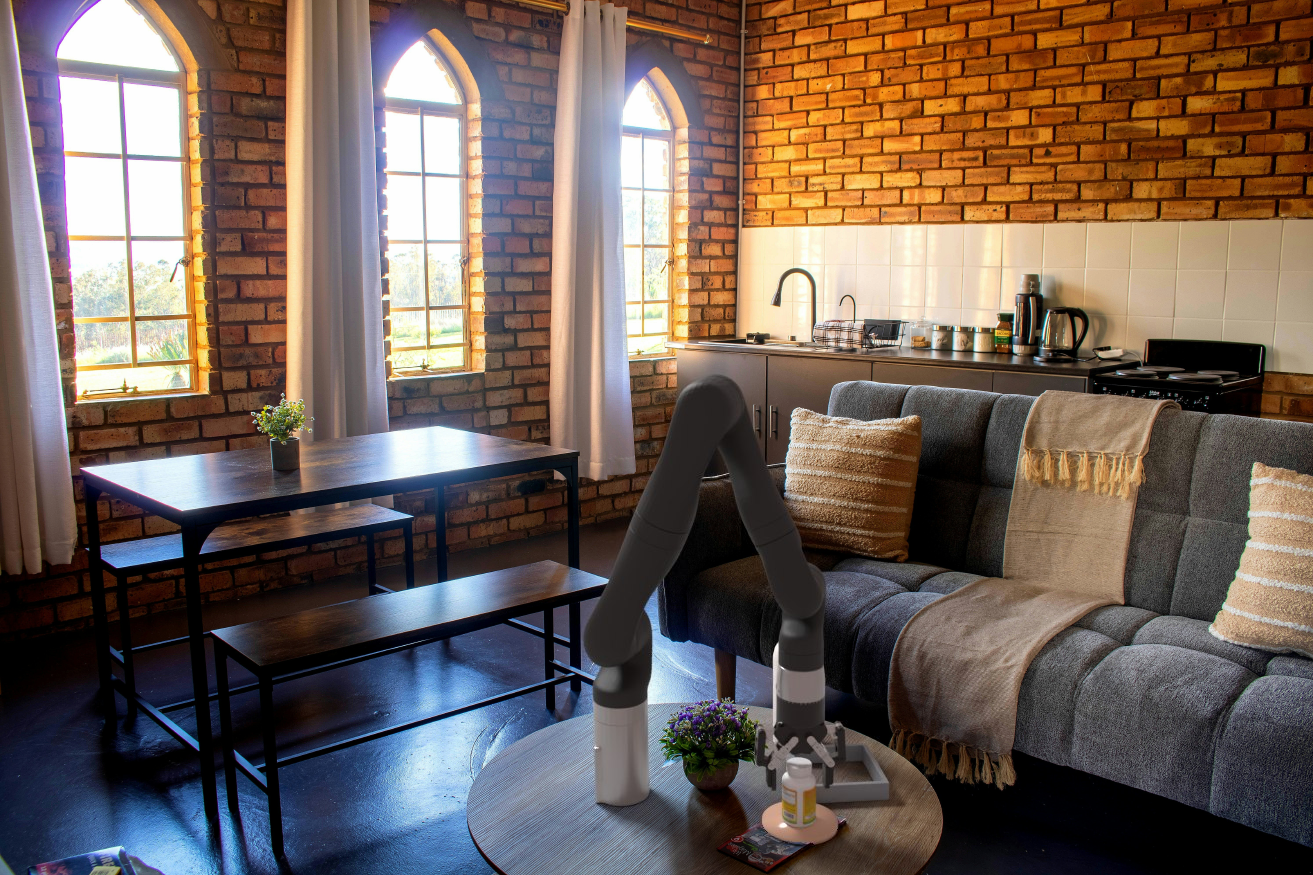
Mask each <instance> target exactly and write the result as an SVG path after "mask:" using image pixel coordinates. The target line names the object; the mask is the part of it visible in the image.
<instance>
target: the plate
mask: <svg viewBox="0 0 1313 875" xmlns="http://www.w3.org/2000/svg"><path fill="white" fill-rule="evenodd" d="M761 825H763V826H762V828H763V827H764V828H763V830H764V829H765V830H766V831H767V832H768V833H770V834H771V835H772V836H775V837H777V838H779V839H781V840H785V841H790V842H791V841H792V842H802V843H805V842H811V843H813V844H814V845H818V844H822V843H824V842H827V841H829V840H831V839H832V838H834V836H836V835H837V832H838V830H839V829H838V828H839V821H838V818H837V815H836V814H835V813H834V811H832V810H831V809H829V808H828V807H826V806H824V805H821V804H820V803H816V820H815V822H814V823H813V824H812V825H811V826H808V827H803V828H797V827H792V826H789V825H788V824H786V823H785V822H784V821H783V819H782V801H780V802H776V803H775V804H772V805H770V806H768V807H767V808H766V809H765V810H764V811H763V813H762V816H761ZM837 829H838V830H837ZM765 830H764V831H765ZM766 831H765V832H766ZM767 832H766V833H767ZM768 833H767V834H768Z"/></svg>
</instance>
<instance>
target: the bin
mask: <svg viewBox="0 0 1313 875" xmlns="http://www.w3.org/2000/svg"><path fill="white" fill-rule="evenodd" d="M823 745H824V747H825V748H826V749H827V751H828V752H829V753H830V754H831V753H834V752H835V743H832V744H823ZM845 745H846V762H863V764H864V766H865V768H866V770H867V772H868V773H869V775H870V776H871V777H870V778H872V780H873V781H871V780H870V781H853V782H848V781H847V782H836V783H835V782H833V784H832V785H830V788H829V789H825V788H824V786H823V783H816V803H817V804H826V803H827V804H828V803H829V804H830V803H847V802H865V801H866V802H868V801H872V802H873V801H888V800H890V782H889V780H888V778H887V777H886V775H885V773H884V772H883V770H882V768H881V766H880V764H879V762H878V761H877V760H876V758H875V755H874V754H873V752H872V751H871V749H870V747H869V746H868V744H867V743H866V742H859V743H856V742H855V743H845ZM796 757H800V758H805V759H808V760H809V761H811V763H812V764H820V763H821V764H823V761H824V760H823V759H821V757H820V756H819V755H818V754H817V753H816V751H813V752H811V754H803V753H800V754H797V755H791V753H788V754H787V756H786V757H785V764H786V765H787V761H788V760H789V759H791V758H796ZM846 762H845V763H846Z"/></svg>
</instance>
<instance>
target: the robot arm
mask: <svg viewBox="0 0 1313 875" xmlns="http://www.w3.org/2000/svg"><path fill="white" fill-rule="evenodd" d="M760 446H761V445H760V444H759V441H758V438H757V435H756V432H755V429H754V425H753V423H752V420H751V416H750V413H749V409H748V406H747V403H746V398H745V397H744V394H743V390H742V389H741V387H740V386H739V385H738V384H737V382H735V381H734V380H733V379H732V378H730V377H729V376H727V375H724V374H717V373H716V374H709V375H706V376H703V377H700V378H699V379H697V380H695V381H692V382H691V383H689V384H688V385H687V386H686V387H684V388H683V390H682V391H681V392H680V394H679V396H678V397H677V400H676V402H675V406H674V409H673V412H672V416H671V420H670V423H669V427H668V431H667V434H666V438H665V441H664V444H663V447H662V451H661V454H660V456H659V458H658V460H657V463H656V465H655V466H654V469H653V471H652V473H651V475H650V477H649V479H648V482H647V484H646V485H645V488H644V490H643V492H642V495H641V497H640V499H639V501H638V504H637V506H636V507H635V508H636V509H635V510H634V512H633V516H632V518H631V521H630V522H629V526H628V528H627V532H626V534H625V537H624V540H623V542H622V544H621V548H620V550H619V553H618V555H617V557H616V560H615V562H614V566H613V568H612V571H611V574H610V577H609V579H608V580H607V583H606V586H605V588H604V589H603V591H602V593H601V596H600V597H599V599H598V601H597V603H596V604H595V607H594V608H593V611H592V612H591V614H590V615H589V618H588V619H587V622H586V624H585V626H584V629H583V633H582V642H583V643H582V644H583V648H584V652H585V654H586V655H587V658H588V659H589V660H590V661H591V662H592V663H593V664H595V665H596V666H598V667H600V668H599V671H598V672H597V674H596V676H595V678H594V681H593V682H592V707H593V708H592V709H593V710H592V711H593V755H594V756H593V757H594V758H593V759H594V760H593V761H594V792H595V794H594V795H595V803H603V804H606V805H609V806H614V807H615V806H617V807H627V806H632V805H636V804H638V803H641V802H643V801H644V800H646V799H647V798H648V796H649V795H650V792H651V791H650V753H649V752H650V751H649V749H650V747H649V743H650V742H649V738H650V737H649V702H648V701H649V698H648V696H649V694H648V693H649V692H648V691H649V685H650V683H651V678H652V672H653V627H652V622H651V620H650V616H649V614H648V612H647V611H646V610H645V609H646V606H647V604H648V602H649V600H650V598H651V597H652V595H654V592H655V591H656V589H657V588H658V586H660V584H661V583H662V581H663V580H664V579H665V578H666V576H667V575H668V573H669V572H670V571H671V569H672V567H673V566H674V564H675V563H676V562H677V560H678V558H679V556H680V554H681V552H682V550H683V549H684V546H685V544H686V541H687V540H688V536H689V534H690V533H691V529H692V526H693V524H694V522H695V518H696V515H697V510H698V505H699V498H700V493H701V492H700V491H701V485H702V481H703V477H704V474H705V472H706V470H707V468H708V465H709V464H710V461H711V460H712V457H713V455H714V453H715V451H716V449H718V452H719V453H720V454H721V456H722V459H723V461H724V464H725V467H726V469H727V471H728V474H729V478H730V482H731V486H732V491H733V493H734V494H733V495H734V498H735V502H736V503H735V504H736V506H737V509H738V512H739V515H740V518H741V520H742V523H743V524H744V527H745V529H746V531H747V533H748V536H749V538H750V539H751V542H752V543H753V545H754V547H755V550H756V551H757V552H758V555H759V556H760V559H761V561H762V564H763V568H764V572H765V574H766V578H767V580H768V581H767V582H768V584H769V586H770V590H771V592H772V595H773V597H774V599H775V601H776V603H777V605H778V606H779V607H780V609H781V610H782V613H781V614H782V617H781V620H782V621H781V622H782V623H781V628H780V631H779V634H778V635H779V636H778V642H779V643H778V642H777V644H778V670H777V682H776V724H775V726H774V727H773V726H769V727H768V726H764V725H763V724H761V723H759V724H756V727H755V736H754V738H755V739H754V752H753V758H754V760H755V764H756V765H757V766H758V767H759V768H760V767H765V782H766V784H767V787H768V788H770V790H771V792H774V791H775V792H776V791H777V768H776V767H777V766H778V765H779V764H780V762H781V761H784V759H786V756H787V754H788V753H791V755H797V754H800V753H803V754H811V752H813V751H816V753H817V754H818V755H819V756H820V757H821V759H823V760H824V761H823V763H822V767H821V768H822V769H821V770H822V771H821V772H822V773H821V774H822V775H821V780H822V783H821V784H823V786H824V788H825V789H829V788H830V785H832V784H833V783H835V782H834V781H835V780H834V779H835V778H834V774H835V773H834V771H835V770H834V768H835V765H837V764H839V763H840V764H844V763H846V745H845V744H846V730H845V728H844V726H843V724H842V723H841V721H839V720H836V721H835V722H834V723H833V724H826V723H825V721H826V720H825V718H826V717H825V716H826V714H825V710H826V709H825V707H826V703H825V702H826V698H825V697H826V677H825V676H826V674H825V668H824V667H825V666H824V664H825V663H824V660H825V659H824V657H825V656H824V655H825V654H824V652H825V650H824V649H825V646H824V645H825V642H824V624H825V623H824V622H825V613H826V611H825V610H826V601H827V600H826V599H827V583H826V582H827V581H826V579H825V576H824V574H823V572H822V571H821V570H820V568H818V567H817V565H815V564H813V563H810V562H808V560H807V559H806V556H805V554H804V552H803V549H802V539H801V534H800V532H799V529H798V528H797V526H796V523H795V522H794V519H793V517H792V515H791V514H790V511H789V510H788V507H787V505H786V503H785V501H784V499H783V498H782V495H781V493H780V492H779V490H778V488H777V485H776V483H775V480H774V479H773V476H772V473H771V472H770V469H769V466H768V465H767V461H766V459H765V457H764V455H763V452H762V449H761V447H760ZM828 734H829V735H830V737H831V738H832V739H833V740H834V744H835V752H834V753H831V754H830V753H829V752H828V751H827V749H826V748H825V747H824V745H825V744H823V743H822V742H823V741H824V739H825V738H826V737H827V735H828ZM773 735H774V736H775V737H776V739H777V742H776V743H774V744H773V746H772V748H771V750H770V752H768V754H767V755H766V754H765V753H766V743H768V742H769V741H770V740H771V737H773Z"/></svg>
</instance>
